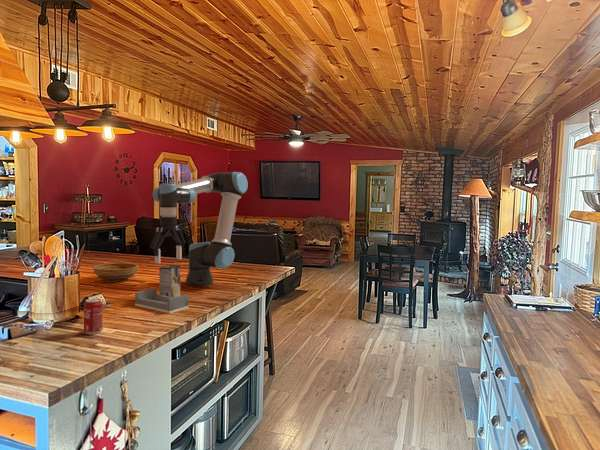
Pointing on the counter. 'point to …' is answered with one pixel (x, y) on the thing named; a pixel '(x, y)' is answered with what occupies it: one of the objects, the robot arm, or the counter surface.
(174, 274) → the coffee box
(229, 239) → the robot arm
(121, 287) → the counter surface
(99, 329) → the beverage can
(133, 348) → the counter surface
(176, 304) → the grey tray
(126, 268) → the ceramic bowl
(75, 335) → the counter surface
